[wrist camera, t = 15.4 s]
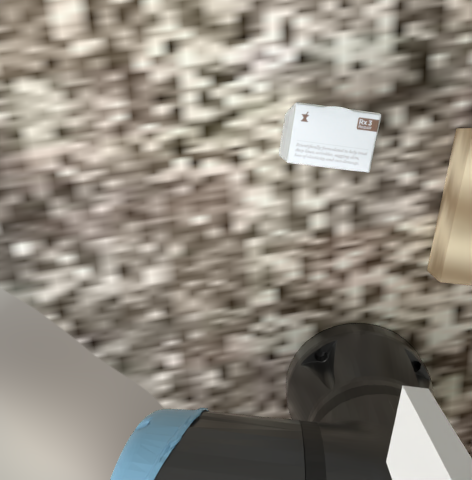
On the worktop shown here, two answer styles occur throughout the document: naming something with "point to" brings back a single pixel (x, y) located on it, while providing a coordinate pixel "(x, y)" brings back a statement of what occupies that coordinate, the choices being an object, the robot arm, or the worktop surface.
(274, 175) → the worktop surface
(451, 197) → the birch block
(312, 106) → the skincare box
